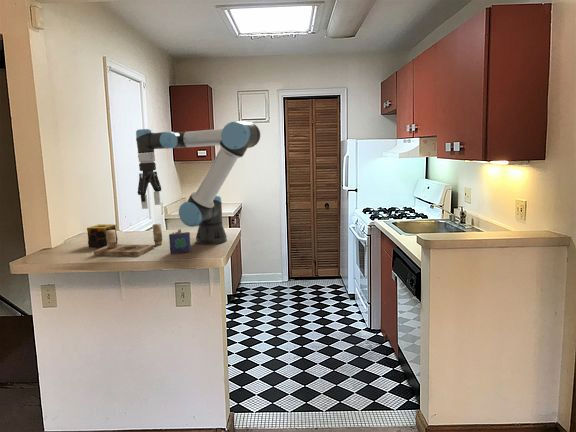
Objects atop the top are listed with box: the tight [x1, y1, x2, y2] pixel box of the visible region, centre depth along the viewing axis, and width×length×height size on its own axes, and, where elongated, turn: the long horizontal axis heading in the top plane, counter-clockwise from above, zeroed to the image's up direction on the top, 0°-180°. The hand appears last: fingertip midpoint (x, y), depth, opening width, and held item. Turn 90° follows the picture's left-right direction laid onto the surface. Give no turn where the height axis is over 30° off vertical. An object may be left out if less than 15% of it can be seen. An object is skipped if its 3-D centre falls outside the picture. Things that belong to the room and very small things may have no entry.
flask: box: [168, 228, 192, 255], centre depth 210 cm, size 9×3×11 cm, turn 113°
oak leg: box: [152, 223, 163, 246], centre depth 228 cm, size 4×4×10 cm
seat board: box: [93, 230, 155, 257], centre depth 214 cm, size 22×14×10 cm, turn 80°
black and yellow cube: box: [86, 223, 119, 249], centre depth 229 cm, size 10×10×10 cm
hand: (151, 206), depth 225 cm, fingers open, 13 cm apart
